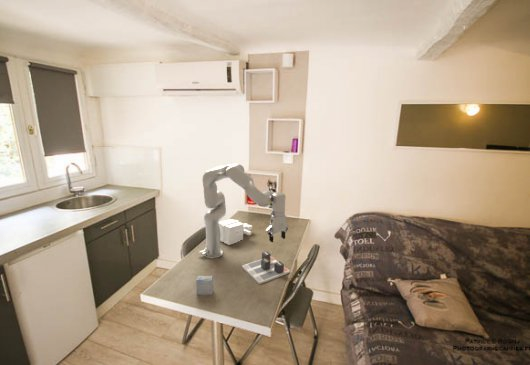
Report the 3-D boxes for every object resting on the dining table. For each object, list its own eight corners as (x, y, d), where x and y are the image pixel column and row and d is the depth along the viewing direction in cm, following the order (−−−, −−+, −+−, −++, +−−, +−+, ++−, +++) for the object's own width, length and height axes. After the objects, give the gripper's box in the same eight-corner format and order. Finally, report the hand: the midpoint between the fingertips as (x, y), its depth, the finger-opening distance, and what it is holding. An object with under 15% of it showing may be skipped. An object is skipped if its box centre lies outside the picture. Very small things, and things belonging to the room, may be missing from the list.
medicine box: (213, 289, 134) (213, 275, 132) (211, 295, 130) (211, 280, 128) (198, 289, 134) (197, 275, 132) (196, 295, 129) (195, 280, 127)
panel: (259, 284, 140) (259, 274, 138) (241, 267, 156) (242, 257, 154) (289, 272, 152) (290, 263, 150) (270, 257, 168) (271, 249, 166)
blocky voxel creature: (259, 239, 198) (233, 248, 177) (237, 229, 214) (211, 237, 193) (260, 221, 196) (234, 229, 175) (238, 213, 212) (212, 219, 190)
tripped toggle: (264, 270, 151) (264, 262, 149) (261, 267, 154) (261, 259, 153) (270, 268, 153) (270, 261, 152) (266, 265, 156) (266, 258, 155)
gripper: (270, 217, 142) (269, 245, 146) (293, 212, 152) (292, 238, 156) (262, 213, 148) (262, 240, 152) (285, 209, 158) (284, 234, 162)
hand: (277, 239), depth 154 cm, fingers open, 8 cm apart
